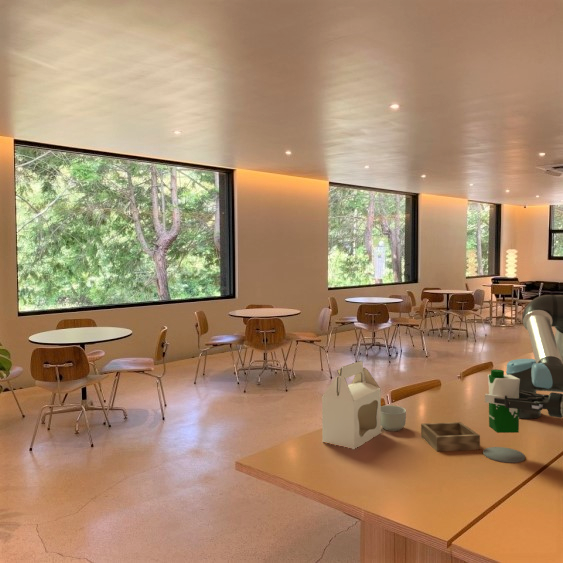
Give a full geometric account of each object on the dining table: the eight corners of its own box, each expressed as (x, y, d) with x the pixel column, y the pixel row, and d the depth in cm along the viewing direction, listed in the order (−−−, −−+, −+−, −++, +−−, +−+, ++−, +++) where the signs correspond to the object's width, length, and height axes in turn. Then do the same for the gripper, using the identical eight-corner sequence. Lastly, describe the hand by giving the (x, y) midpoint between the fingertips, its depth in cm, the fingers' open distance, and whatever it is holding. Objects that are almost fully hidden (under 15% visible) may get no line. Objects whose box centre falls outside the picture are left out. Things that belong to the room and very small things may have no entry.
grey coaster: (511, 447, 182) (511, 446, 182) (533, 461, 169) (533, 460, 169) (476, 449, 181) (476, 447, 181) (494, 463, 168) (494, 461, 168)
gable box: (351, 427, 208) (350, 357, 207) (381, 433, 200) (380, 360, 199) (321, 442, 190) (321, 366, 189) (354, 450, 182) (353, 371, 181)
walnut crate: (460, 435, 196) (460, 422, 196) (479, 449, 181) (479, 435, 181) (421, 436, 195) (421, 423, 195) (437, 451, 179) (437, 437, 179)
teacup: (407, 426, 208) (407, 406, 208) (404, 434, 198) (404, 413, 197) (372, 422, 213) (372, 403, 212) (368, 431, 202) (368, 410, 202)
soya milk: (485, 425, 179) (485, 368, 178) (511, 425, 179) (511, 367, 178) (495, 433, 170) (495, 373, 170) (523, 433, 170) (523, 373, 169)
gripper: (555, 426, 154) (478, 413, 169) (570, 410, 171) (500, 399, 185) (555, 401, 154) (478, 390, 168) (571, 387, 171) (500, 378, 185)
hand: (490, 395), depth 177 cm, fingers closed on soya milk, 9 cm apart
